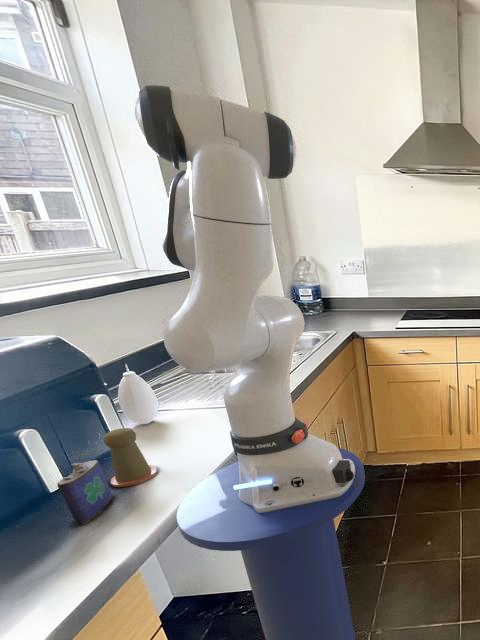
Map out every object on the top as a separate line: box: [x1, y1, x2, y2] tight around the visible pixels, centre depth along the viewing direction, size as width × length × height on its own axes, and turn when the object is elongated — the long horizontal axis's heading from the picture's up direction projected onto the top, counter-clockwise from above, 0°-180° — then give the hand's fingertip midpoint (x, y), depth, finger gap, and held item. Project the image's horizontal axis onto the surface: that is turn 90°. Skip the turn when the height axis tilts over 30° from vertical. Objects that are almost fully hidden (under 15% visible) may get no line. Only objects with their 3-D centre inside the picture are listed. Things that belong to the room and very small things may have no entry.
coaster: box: [109, 464, 159, 488], centre depth 93 cm, size 8×8×1 cm
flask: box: [56, 459, 114, 526], centre depth 81 cm, size 9×3×11 cm, turn 15°
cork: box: [103, 427, 151, 482], centre depth 91 cm, size 6×6×11 cm
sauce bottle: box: [117, 363, 159, 425], centre depth 116 cm, size 8×8×18 cm
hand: (190, 352), depth 101 cm, fingers open, 8 cm apart
